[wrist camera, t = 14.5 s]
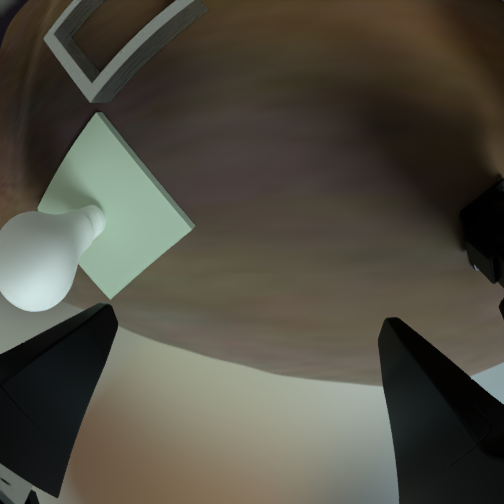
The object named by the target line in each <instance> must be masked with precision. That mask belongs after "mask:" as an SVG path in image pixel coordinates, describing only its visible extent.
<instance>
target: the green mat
mask: <svg viewBox="0 0 504 504" xmlns="http://www.w3.org/2000/svg"><path fill="white" fill-rule="evenodd" d="M88 205H95V206H97V207H98V208H100V209H101V210H102V212H103V214H104V216H105V221H106V224H105V229H104V230H103V232H102V233H100V234H99V235H98V236H97V237H96V238H95V239H94V240H93V242H92V244H91V245H90V246H89V247H88V248H87V249H86V250H85V251H84V252H83V254H82V255H81V257H80V259H79V261H78V264H79V265H80V266H81V267H82V269H83V270H84V271H85V272H86V273H87V274H88V276H89V277H90V278H91V279H92V280H93V281H94V282H95V283H96V285H97V286H98V287H99V288H100V289H101V290H102V291H103V292H104V293H105V294H106V296H107V297H108V298H109V299H111V298H113V297H114V296H115V295H116V294H117V293H118V292H119V291H120V290H121V289H123V288H124V287H125V286H126V285H127V284H128V283H129V282H130V281H132V280H133V279H134V278H135V277H136V276H137V275H138V274H140V273H141V272H142V271H143V270H144V269H145V268H147V267H148V266H149V265H150V264H151V263H152V262H154V261H155V260H156V259H157V258H158V257H160V256H161V255H162V254H163V253H164V252H166V251H167V250H168V249H169V248H170V247H172V246H173V245H174V244H175V243H176V242H178V241H179V240H180V239H181V238H183V237H184V236H185V235H186V234H187V233H189V232H190V231H191V230H192V229H193V228H194V227H195V225H194V224H193V222H192V221H191V220H190V219H189V218H188V216H187V215H186V214H185V213H184V212H183V211H182V209H181V208H180V207H179V206H178V205H177V203H176V202H175V201H174V200H173V199H172V198H171V196H170V195H169V194H168V193H167V192H166V190H165V189H164V188H163V187H162V186H161V184H160V183H159V182H158V181H157V180H156V178H155V177H154V176H153V175H152V174H151V172H150V171H149V170H148V169H147V167H146V166H145V165H144V164H143V163H142V161H141V160H140V159H139V158H138V156H137V155H136V154H135V153H134V151H133V150H132V149H131V148H130V147H129V145H128V144H127V143H126V142H125V140H124V139H123V138H122V137H121V135H120V134H119V133H118V132H117V130H116V129H115V128H114V127H113V125H112V124H111V123H110V121H109V120H108V119H107V118H106V116H105V115H104V114H103V113H102V112H96V113H95V115H94V116H93V117H92V119H91V120H90V121H89V123H88V124H87V125H86V127H85V128H84V130H83V131H82V133H81V134H80V135H79V137H78V138H77V140H76V141H75V143H74V144H73V146H72V147H71V149H70V150H69V152H68V154H67V155H66V157H65V158H64V160H63V162H62V163H61V165H60V167H59V168H58V170H57V172H56V174H55V175H54V177H53V179H52V181H51V183H50V184H49V186H48V188H47V190H46V192H45V194H44V196H43V198H42V200H41V202H40V204H39V206H38V208H37V209H38V210H39V212H43V213H49V214H53V215H56V214H63V213H66V212H68V211H71V210H79V209H81V208H83V207H85V206H88Z"/></svg>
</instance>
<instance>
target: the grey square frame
mask: <svg viewBox="0 0 504 504" xmlns="http://www.w3.org/2000/svg"><path fill="white" fill-rule="evenodd" d="M104 1H105V0H73V2H72V3H71V4H70V5H69V6H68V7H67V9H66V10H65V11H64V12H63V13H62V15H61V16H60V17H59V18H58V20H57V21H56V22H55V23H54V25H53V26H52V27H51V29H50V30H49V31H48V33H47V34H46V36H45V37H44V40H45V42H46V43H47V45H48V46H49V48H50V49H51V50H52V52H53V53H54V55H55V56H56V57H57V59H58V60H59V62H60V63H61V64H62V66H63V67H64V68H65V70H66V71H67V72H68V74H69V75H70V77H71V78H72V79H73V81H74V82H75V83H76V85H77V86H78V87H79V89H80V90H81V91H82V93H83V94H84V95H85V97H86V98H87V99H88V100H89V102H90V103H110V102H111V101H112V100H113V98H114V97H115V96H116V95H117V94H118V93H119V91H120V90H121V89H122V88H123V87H124V86H125V85H126V84H127V83H128V82H129V80H130V79H131V78H132V77H133V76H134V75H135V74H136V73H137V72H138V71H139V70H140V69H141V68H142V67H143V66H144V65H145V64H146V63H147V62H148V61H149V60H150V59H151V58H152V57H153V56H154V55H155V54H156V53H157V52H159V51H160V50H161V49H162V48H163V47H164V46H165V45H166V44H167V43H169V42H170V41H171V40H172V39H173V38H174V37H176V36H177V35H178V34H179V33H180V32H182V31H183V30H184V29H185V28H187V27H188V26H189V25H190V24H192V23H193V22H194V21H196V20H197V19H198V18H200V17H201V16H202V15H204V14H205V13H207V12H208V11H209V10H208V9H207V8H206V6H205V5H204V4H203V2H202V1H201V0H176V1H175V2H173V3H172V4H171V5H170V6H168V7H167V8H166V9H165V10H163V11H162V12H161V13H160V14H159V15H157V16H156V17H155V18H154V19H153V20H152V21H151V22H149V23H148V24H147V25H146V26H145V27H144V28H143V29H142V30H141V31H140V32H139V33H138V34H137V35H135V36H134V37H133V38H132V39H131V40H130V41H129V42H128V43H127V44H126V45H125V47H124V48H123V49H122V50H121V51H120V52H119V53H118V54H117V55H116V56H115V57H114V58H113V59H112V61H111V62H110V63H109V64H108V65H107V66H106V67H105V69H104V70H103V71H102V72H100V71H99V70H98V69H97V68H96V66H95V65H94V64H93V63H92V62H91V60H90V59H89V58H88V57H87V56H86V54H85V53H84V52H83V51H82V49H81V48H80V47H79V46H78V45H77V43H76V42H75V41H74V40H73V39H72V37H73V36H74V34H75V33H76V32H77V31H78V30H79V28H80V27H81V26H82V25H83V24H84V23H85V21H86V20H87V19H88V18H89V17H90V16H91V15H92V14H93V13H94V11H95V10H96V9H97V8H98V7H99V6H100V5H101V4H102V3H103V2H104Z"/></svg>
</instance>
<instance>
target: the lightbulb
mask: <svg viewBox="0 0 504 504" xmlns="http://www.w3.org/2000/svg"><path fill="white" fill-rule="evenodd" d="M105 224H106V221H105V216H104V214H103V212H102V210H101V209H100V208H98V207H97V206H95V205H88V206H85V207H83V208H81V209H79V210H71V211H68V212H66V213H63V214H56V215H53V214H49V213H43V212H35V211H30V212H26V213H21V214H18V215H17V216H15V217H13V218H12V219H10V220H9V221H8V222H7V223H6V224H5V225H4V226H3V228H2V229H1V231H0V291H1V293H2V294H3V295H4V297H5V298H6V299H7V300H8V301H10V302H11V303H12V304H13V305H15V306H17V307H18V308H20V309H22V310H26V311H32V312H34V311H44V310H47V309H49V308H51V307H53V306H55V305H56V304H58V303H59V302H60V301H61V300H62V299H63V298H64V297H65V296H66V294H67V293H68V291H69V289H70V287H71V285H72V282H73V279H74V276H75V273H76V269H77V265H78V261H79V259H80V257H81V255H82V254H83V252H84V251H85V250H86V249H87V248H88V247H89V246H90V245H91V244H92V242H93V240H94V239H95V238H96V237H97V236H98V235H99V234H100V233H102V232H103V230H104V229H105Z"/></svg>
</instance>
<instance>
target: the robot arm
mask: <svg viewBox="0 0 504 504" xmlns="http://www.w3.org/2000/svg"><path fill="white" fill-rule="evenodd" d="M465 214H466V217H465ZM464 217H465V218H464ZM460 219H461V223H462V226H463V229H464V233H465V239H464V240H465V243H466V247H467V251H468V255H469V260H470V261H471V262H472V265H473V268H474V269H475V270H476V271H478V270H480V271H481V272H482V273H483V274H484V275H485V276H486V277H487V278H488V279H489V281H490V282H491V283H493V284H496V283H497V282H498V283H499V284H500V285H501V286H502V287H503V288H504V178H502V179H500V180H499V181H498V182H497V183H496V184H495V185H493V186H492V187H491V188H490V189H489V190H487V191H486V192H485V193H484V194H482V195H481V196H480V197H479V198H477V199H476V200H475V201H474V202H472V203H471V204H470V205H468V206H467V207H466V208H464V209H463V210H462V211H461V213H460ZM499 309H500V312H501V314H502V316H503V319H504V298H503V300H501V303H500V305H499ZM117 329H118V321H117V318H116V316H115V313H114V310H113V307H112V306H111V305H110V304H109V303H98V304H96V305H94V306H92V307H90V308H88V309H86V310H84V311H82V312H80V313H79V314H77V315H75V316H73V317H71V318H69V319H67V320H65V321H63V322H61V323H59V324H57V325H55V326H53V327H52V328H50V329H48V330H46V331H44V332H42V333H40V334H38V335H36V336H35V337H33V338H31V339H29V340H27V341H25V342H24V343H21V344H20V345H18V346H16V347H14V348H12V349H10V350H8V351H6V352H4V353H2V354H0V504H39V501H38V498H37V495H36V492H35V491H33V490H32V489H31V488H32V486H33V485H34V486H36V487H37V488H39V489H41V490H43V491H44V492H46V493H48V494H50V495H52V496H54V497H56V498H58V497H59V494H60V490H61V486H62V483H63V479H64V475H65V472H66V469H67V465H68V462H69V459H70V454H71V452H72V449H73V446H74V443H75V440H76V437H77V434H78V431H79V428H80V426H81V423H82V420H83V417H84V415H85V412H86V410H87V407H88V404H89V402H90V399H91V397H92V394H93V392H94V389H95V387H96V384H97V382H98V380H99V378H100V375H101V373H102V370H103V368H104V366H105V363H106V361H107V358H108V355H109V352H110V349H111V346H112V343H113V340H114V337H115V335H116V332H117ZM378 348H379V355H380V364H381V373H382V382H383V388H384V394H385V398H386V403H387V408H388V414H389V420H390V425H391V432H392V438H393V445H394V451H395V459H396V468H397V478H398V490H399V504H504V404H502V403H501V402H499V401H498V400H497V399H496V398H494V397H493V396H492V395H490V394H489V393H488V392H487V391H486V390H485V389H483V388H482V387H481V386H480V385H479V384H478V383H477V382H475V381H474V380H473V379H471V377H470V376H468V375H467V374H466V373H465V372H464V371H463V370H461V369H460V368H459V367H458V366H457V365H456V364H454V363H453V362H452V361H451V360H450V359H448V358H447V357H446V356H445V355H444V354H443V353H441V352H440V351H439V350H438V349H436V348H435V347H434V346H433V345H432V344H430V343H429V342H428V341H427V340H426V339H424V338H423V337H422V336H421V335H419V334H418V333H417V332H416V331H414V330H413V329H412V328H411V327H409V326H408V325H407V324H406V323H404V322H403V321H402V320H401V319H399V318H398V317H390V318H386V319H385V320H384V322H383V326H382V329H381V332H380V334H379V338H378Z"/></svg>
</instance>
